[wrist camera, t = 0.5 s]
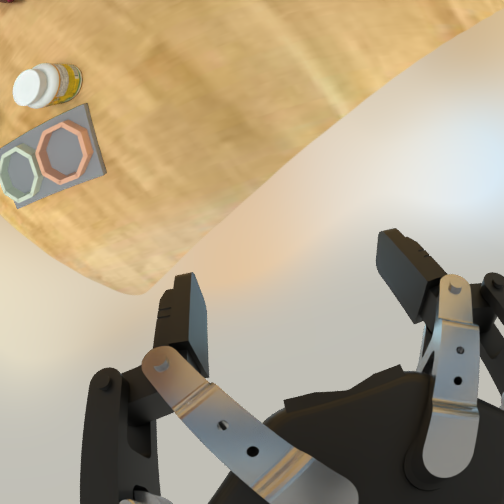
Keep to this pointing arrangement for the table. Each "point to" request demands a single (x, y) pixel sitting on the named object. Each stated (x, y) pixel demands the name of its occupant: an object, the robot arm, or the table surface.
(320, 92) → the table surface
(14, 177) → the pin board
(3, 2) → the mug
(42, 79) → the supplement bottle
